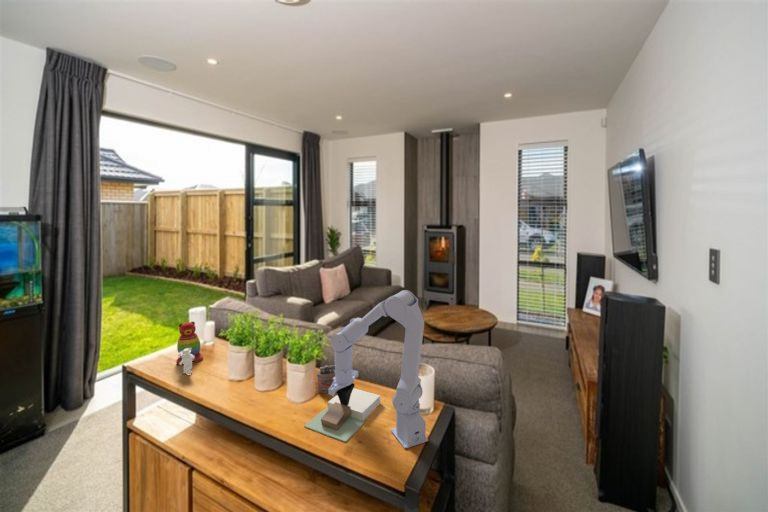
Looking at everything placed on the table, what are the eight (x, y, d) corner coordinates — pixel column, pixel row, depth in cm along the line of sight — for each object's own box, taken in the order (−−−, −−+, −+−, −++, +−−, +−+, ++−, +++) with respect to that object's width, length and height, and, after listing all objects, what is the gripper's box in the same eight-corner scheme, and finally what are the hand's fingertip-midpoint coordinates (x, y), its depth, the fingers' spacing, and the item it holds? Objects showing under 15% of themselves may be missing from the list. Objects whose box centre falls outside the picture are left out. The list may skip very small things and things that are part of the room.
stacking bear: (176, 366, 153) (172, 327, 151) (177, 357, 162) (173, 321, 160) (203, 360, 158) (200, 323, 156) (202, 353, 167) (200, 318, 165)
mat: (325, 409, 118) (325, 408, 118) (365, 422, 111) (365, 421, 111) (304, 427, 109) (304, 425, 109) (345, 442, 101) (345, 441, 101)
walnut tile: (336, 408, 115) (335, 402, 115) (351, 412, 113) (350, 406, 112) (321, 425, 109) (320, 418, 108) (337, 430, 106) (336, 424, 105)
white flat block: (347, 393, 128) (347, 386, 128) (380, 403, 122) (380, 395, 121) (328, 410, 118) (327, 402, 117) (362, 421, 111) (362, 413, 111)
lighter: (318, 394, 128) (317, 369, 127) (317, 390, 131) (316, 365, 130) (339, 391, 130) (338, 366, 129) (338, 387, 133) (337, 362, 132)
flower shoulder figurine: (198, 374, 145) (196, 347, 144) (189, 378, 142) (186, 350, 140) (185, 369, 149) (183, 343, 148) (176, 373, 146) (174, 346, 144)
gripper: (346, 356, 121) (347, 392, 122) (320, 373, 108) (321, 413, 110) (363, 360, 117) (363, 397, 119) (338, 378, 105) (339, 419, 106)
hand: (344, 405), depth 114 cm, fingers closed
